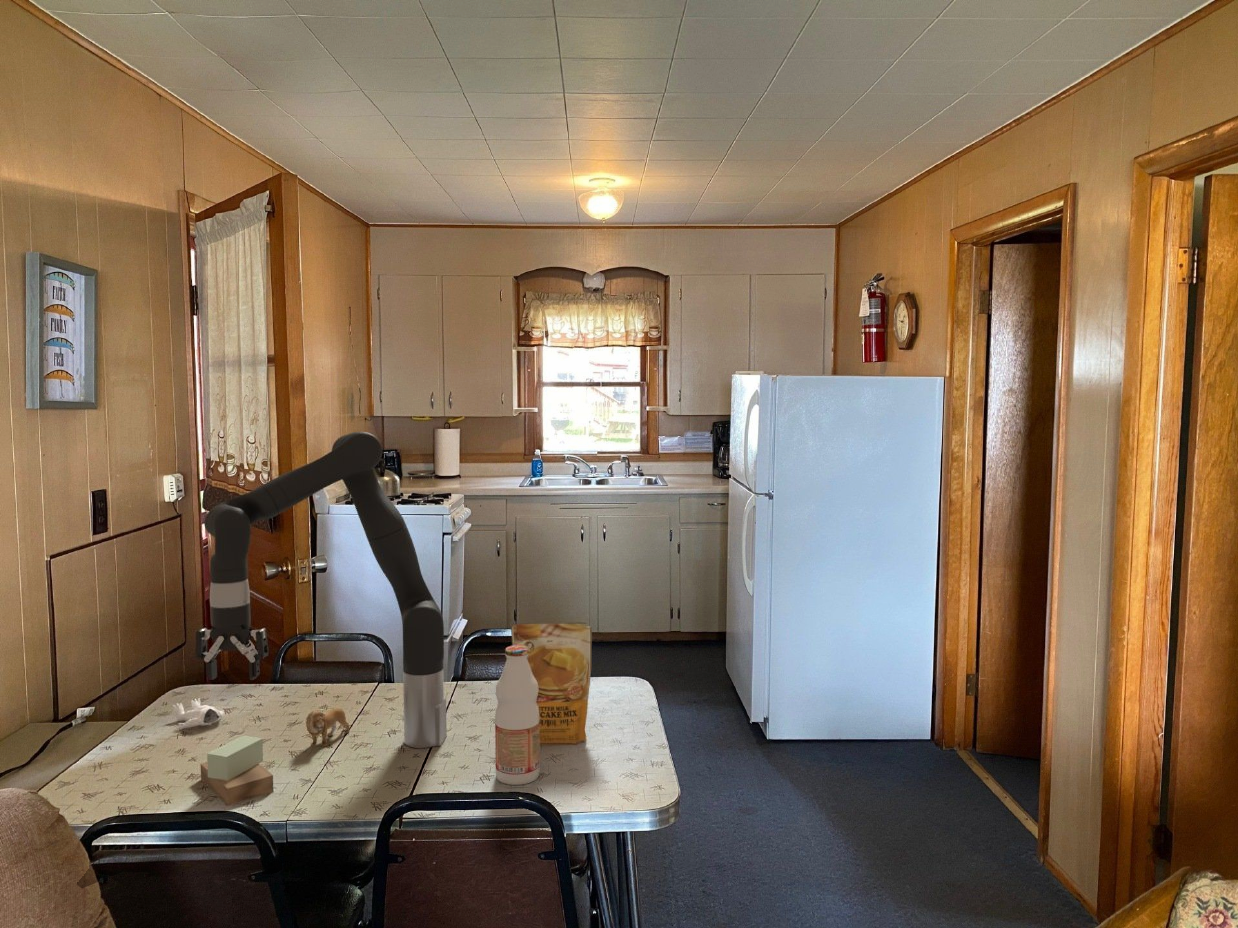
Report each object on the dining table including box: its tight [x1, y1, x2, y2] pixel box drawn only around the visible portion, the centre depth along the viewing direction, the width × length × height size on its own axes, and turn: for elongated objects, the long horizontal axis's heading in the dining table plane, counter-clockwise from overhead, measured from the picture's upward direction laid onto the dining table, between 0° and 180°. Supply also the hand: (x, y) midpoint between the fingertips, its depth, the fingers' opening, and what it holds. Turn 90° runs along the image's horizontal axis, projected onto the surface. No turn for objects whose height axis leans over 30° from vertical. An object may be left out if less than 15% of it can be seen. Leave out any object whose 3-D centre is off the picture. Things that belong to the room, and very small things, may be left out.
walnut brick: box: [200, 761, 274, 807], centre depth 180 cm, size 9×16×4 cm, turn 43°
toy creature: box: [172, 697, 225, 731], centre depth 215 cm, size 12×6×12 cm
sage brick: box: [206, 735, 264, 781], centre depth 180 cm, size 5×10×5 cm, turn 161°
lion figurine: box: [305, 707, 351, 747], centre depth 204 cm, size 15×5×9 cm, turn 167°
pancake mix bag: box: [510, 621, 593, 746], centre depth 203 cm, size 7×19×28 cm, turn 91°
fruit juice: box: [494, 645, 541, 786], centre depth 184 cm, size 9×9×28 cm
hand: (233, 678), depth 179 cm, fingers open, 8 cm apart
